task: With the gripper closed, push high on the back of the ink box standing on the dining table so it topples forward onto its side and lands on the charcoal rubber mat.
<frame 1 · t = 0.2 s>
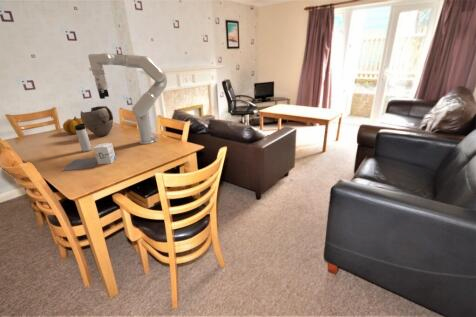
hand: (104, 97, 176), 37 cm above the table, tool pointing down, fingers open, 9 cm apart
rubber mat: (83, 163, 156), on the table
decorative pumpkin: (78, 132, 229), on the table
travel mug: (87, 150, 180), on the table
ink box: (107, 161, 159), on the table
clay pot: (102, 135, 216), on the table
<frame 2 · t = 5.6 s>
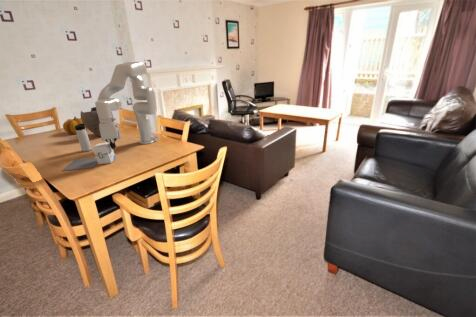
hand: (113, 148, 156), 9 cm above the table, tool pointing down, fingers closed
ink box: (107, 161, 159), on the table, touching gripper
everything else where it was.
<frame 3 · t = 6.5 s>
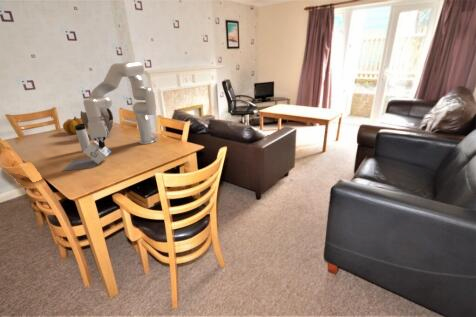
hand: (102, 147, 154), 10 cm above the table, tool pointing down, fingers closed
ink box: (105, 158, 158), point 2 cm above the table
everything else where it was.
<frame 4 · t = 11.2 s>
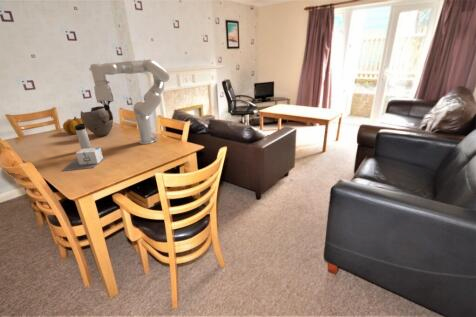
hand: (107, 110, 169), 29 cm above the table, tool pointing down, fingers closed
ink box: (99, 155, 156), point 5 cm above the table, touching rubber mat
everything else where it was.
at the end: ink box tilted 90°; ink box touching rubber mat; ink box inside the target area (3.7 cm from its centre), point 4.6 cm above the table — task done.
